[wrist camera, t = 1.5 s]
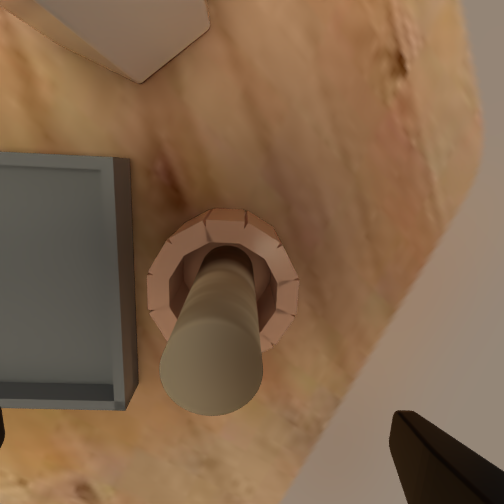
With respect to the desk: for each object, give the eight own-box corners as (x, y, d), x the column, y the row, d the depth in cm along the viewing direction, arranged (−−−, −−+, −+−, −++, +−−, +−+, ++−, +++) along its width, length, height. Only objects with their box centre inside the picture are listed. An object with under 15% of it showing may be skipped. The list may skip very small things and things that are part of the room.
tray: (-70, 378, 21) (-110, 405, 19) (-118, 146, 18) (-174, 143, 16) (138, 383, 22) (125, 410, 19) (129, 158, 19) (112, 157, 16)
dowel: (200, 294, 20) (160, 414, 10) (201, 244, 19) (158, 322, 9) (251, 295, 20) (260, 417, 10) (254, 246, 19) (265, 326, 10)
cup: (168, 320, 21) (149, 360, 17) (167, 206, 19) (145, 217, 15) (282, 323, 21) (292, 364, 17) (290, 211, 19) (304, 224, 15)
